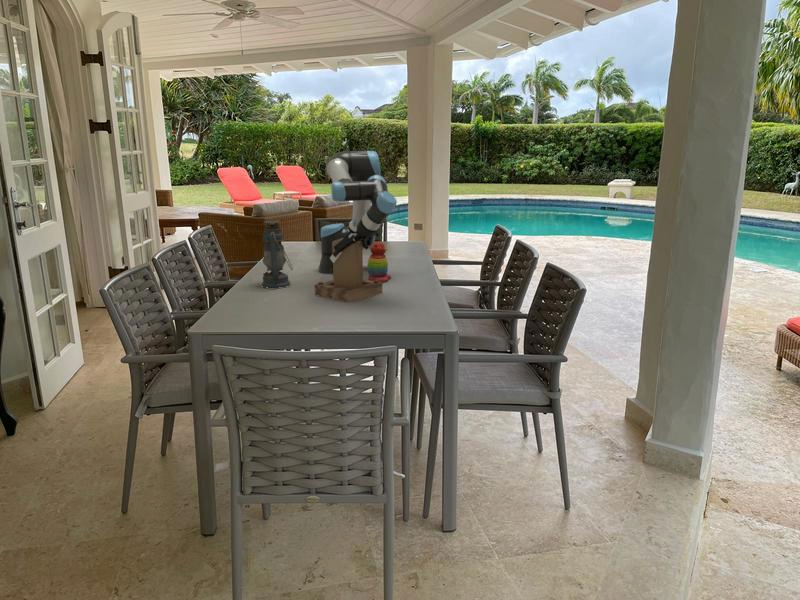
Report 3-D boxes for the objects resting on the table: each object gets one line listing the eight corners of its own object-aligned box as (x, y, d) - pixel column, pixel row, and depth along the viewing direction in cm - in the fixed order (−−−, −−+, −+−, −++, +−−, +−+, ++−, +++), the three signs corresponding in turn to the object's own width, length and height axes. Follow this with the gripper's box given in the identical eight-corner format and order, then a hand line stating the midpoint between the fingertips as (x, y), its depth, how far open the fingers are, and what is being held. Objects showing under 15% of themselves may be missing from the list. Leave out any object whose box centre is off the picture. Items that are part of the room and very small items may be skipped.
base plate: (315, 295, 252) (314, 282, 251) (348, 286, 267) (348, 274, 266) (349, 302, 240) (348, 288, 239) (382, 292, 255) (382, 280, 253)
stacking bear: (386, 282, 275) (386, 244, 270) (365, 282, 277) (364, 243, 272) (391, 278, 285) (391, 240, 281) (371, 277, 287) (370, 240, 283)
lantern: (262, 281, 280) (257, 217, 273) (293, 280, 283) (289, 216, 275) (261, 291, 261) (256, 221, 254) (294, 289, 264) (290, 220, 257)
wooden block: (363, 285, 256) (362, 238, 252) (355, 290, 247) (354, 241, 242) (342, 283, 259) (340, 237, 254) (332, 288, 250) (331, 240, 245)
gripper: (352, 235, 228) (326, 269, 241) (394, 228, 247) (368, 260, 260) (342, 220, 230) (317, 255, 243) (384, 214, 249) (359, 247, 262)
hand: (343, 258), depth 251 cm, fingers open, 13 cm apart
